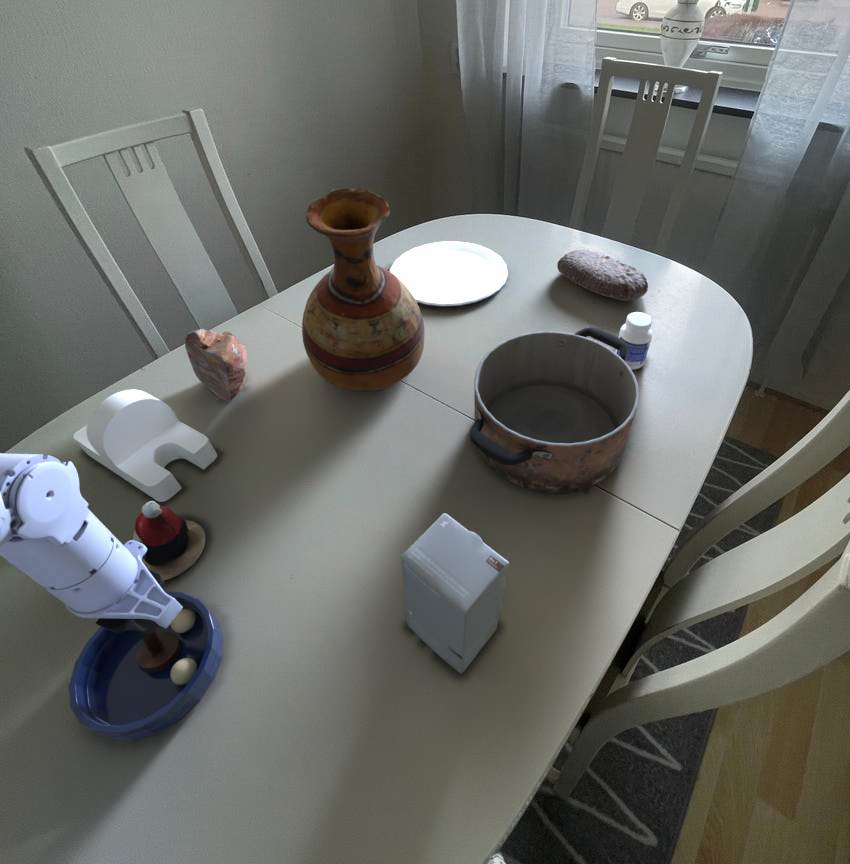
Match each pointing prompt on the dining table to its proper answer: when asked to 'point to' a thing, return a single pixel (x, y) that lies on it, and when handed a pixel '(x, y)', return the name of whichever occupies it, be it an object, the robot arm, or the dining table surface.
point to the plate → (450, 273)
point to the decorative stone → (603, 275)
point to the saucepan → (554, 409)
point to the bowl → (142, 678)
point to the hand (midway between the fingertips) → (148, 621)
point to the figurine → (168, 540)
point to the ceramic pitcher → (359, 300)
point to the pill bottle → (636, 338)
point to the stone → (217, 361)
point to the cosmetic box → (453, 590)
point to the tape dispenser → (142, 441)
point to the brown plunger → (157, 651)
